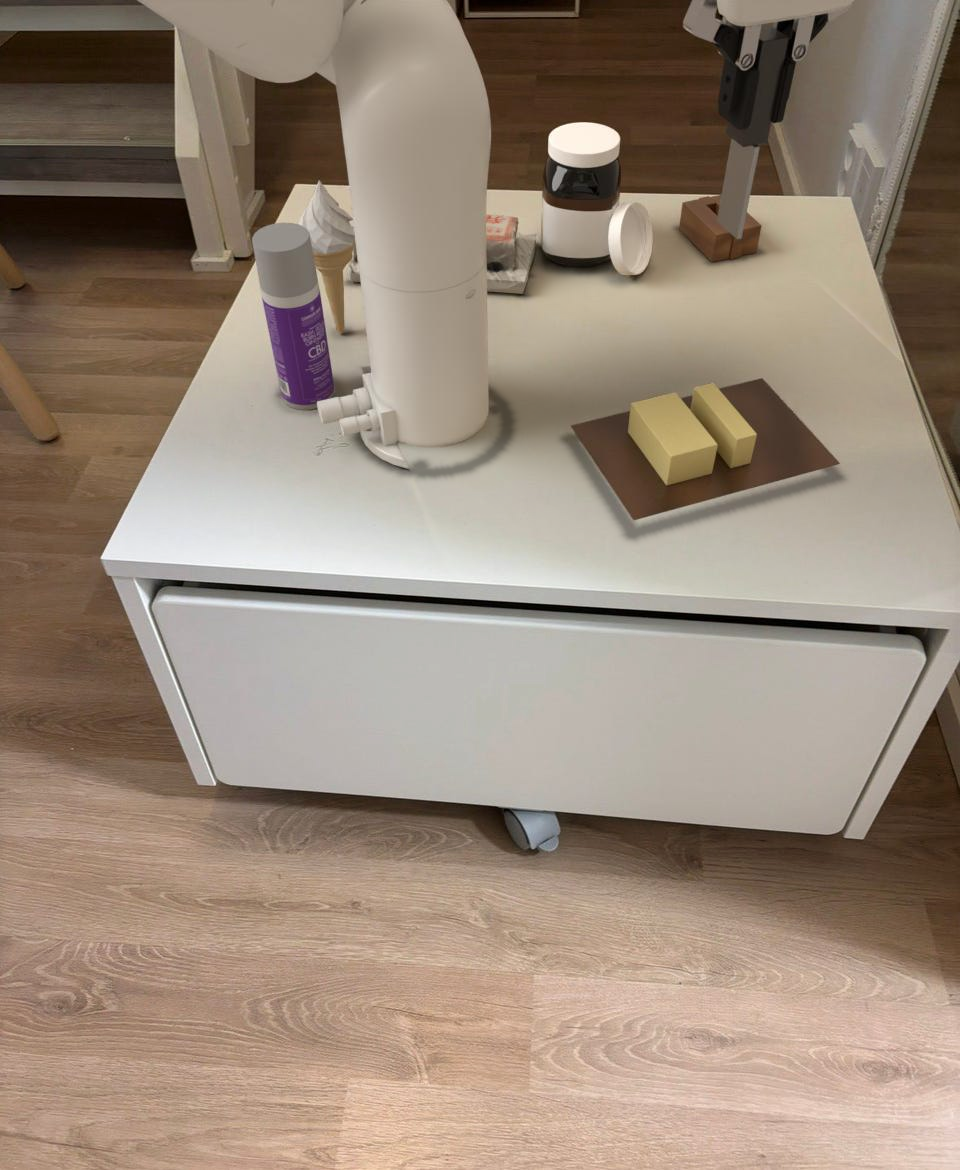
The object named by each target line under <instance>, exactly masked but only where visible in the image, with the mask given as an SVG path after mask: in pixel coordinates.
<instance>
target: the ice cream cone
mask: <svg viewBox="0 0 960 1170" xmlns="http://www.w3.org/2000/svg"><path fill="white" fill-rule="evenodd" d="M351 221H353V216H352V215H350V214H349V213H348V212H347V211H346V210H345V209H343V208H341V207H340V204H339V202H337V200H336V199H335V198H334V197H333V196H332V195H331V194H330V193H329V192H328V190H327V189H326V187H325V186H324V184H323V183H322V181H321V180H320V179H319V180H318V182H317V184H316V187H315V190H314V192H313V194H312V197H311V199H310V200H309V202H308V203H307V206H306V208H305V210H304V211H303V213H302V215H301V217H300V218H299V220H298V222H297V223H296V224H299V225H301V226H303V227H305V228H306V229H307V230H308V231H309V234H310V239H311V245H312V250H313V256H314V261H315V267H316V270H317V271H318V272H319V273H320V275H321V279H322V282H323V285H324V290H325V293H326V297H327V300H328V304H329V307H330V312H331V314H332V317H333V321H334V325H335V329H336V331H337V334H339V335H343V334H344V332H345V329H346V326H345V325H346V324H345V285H344V269H345V267H346V266H347V265H348V264H350V263H351V260H352V258H353V247H354V245H355V244H356V242H355V233H354V226H352V224H351V223H350V222H351Z"/></svg>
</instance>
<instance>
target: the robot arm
mask: <svg viewBox="0 0 960 1170" xmlns="http://www.w3.org/2000/svg"><path fill="white" fill-rule="evenodd" d="M136 1H138V2H139V4H142V5H143V6H145V7H146V8H148V9H150V10H151V11H152V12H154V13H155V14H156V15H158V16H159V17H161V18H163V20H166V21H167V22H168V23H170V24H171V25H173V26H174V27H176V28H177V29H178V30H180V31H182V32H183V33H185V34H186V35H187V36H188V37H189V36H190V37H191V38H192V39H194V40H195V41H197V42H198V43H199V44H201V45H203V46H204V47H206V48H207V49H208V50H210V51H211V52H213V53H214V54H215V55H217V56H219V57H220V58H221V59H223V60H224V61H225V62H227V63H228V64H230V65H231V66H233V67H234V68H235V69H237V70H239V71H241V72H243V73H245V74H246V75H249V76H251V77H253V78H255V79H258V80H261V81H265V82H270V83H276V84H289V83H295V82H299V81H302V80H305V79H307V78H309V77H310V76H312V75H314V74H315V73H317V74H318V75H320V76H322V77H323V78H325V79H326V80H327V81H329V82H331V84H333V85H335V89H336V94H337V102H338V109H339V117H340V124H341V133H342V134H341V135H342V142H343V148H344V156H345V163H346V170H347V178H348V179H347V180H348V187H349V195H350V205H351V216H352V218H353V220H352V224H353V227H354V233H355V242H356V250H357V259H358V265H359V272H360V280H361V282H360V289H361V297H362V298H361V299H362V306H363V313H364V315H363V316H364V321H365V331H366V340H367V348H368V349H367V350H368V356H369V357H368V358H369V365H370V372H367V373H363V374H362V383H363V384H362V385H363V386H362V387H358V388H354V389H352V394H347V395H344V396H340V397H339V396H333V398H330V399H326V400H321V401H317V408H316V409H317V412H318V417H319V419H320V422H321V424H322V425H326V424H331V423H335V422H338V423H339V426H340V431H341V434H342V436H343V437H346V436H350V435H354V434H360V438H361V439H362V441H363V443H364V445H365V446H366V447H367V448H368V449H369V451H370V452H371V453H372V454H373V455H375V456H376V457H378V458H379V459H381V460H383V461H385V462H387V463H389V464H391V465H394V466H397V467H400V468H403V469H408V470H410V466H409V465H408V462H407V460H406V459H405V456H404V454H403V452H402V449H401V448H400V445H399V444H398V442H400V443H402V444H406V445H408V446H409V445H410V446H412V447H413V446H414V447H420V448H441V447H445V446H451V445H455V444H458V443H461V442H463V441H465V440H467V439H469V438H471V437H473V436H474V435H475V434H477V432H479V431H480V430H481V429H482V428H483V427H484V425H485V424H486V422H487V419H488V418H489V414H490V407H489V406H490V405H489V403H490V401H489V339H488V338H489V335H488V334H489V332H488V331H489V330H488V329H489V328H488V324H489V323H488V291H487V254H486V214H487V199H488V198H487V196H488V193H487V192H488V180H489V168H490V157H491V147H492V123H491V122H492V121H491V109H490V104H489V97H488V94H487V93H488V92H487V89H486V85H485V82H484V78H483V75H482V73H481V72H482V71H481V69H480V67H479V64H478V61H477V58H476V57H475V54H474V51H473V49H472V47H471V45H470V44H469V41H468V39H467V37H466V35H465V32H464V30H463V27H462V25H461V22H460V20H459V18H458V16H457V15H456V13H455V11H454V9H453V8H452V6H451V4H450V3H449V1H448V0H136ZM854 3H855V0H691V2H690V5H689V6H688V9H687V11H686V13H685V15H684V18H683V21H682V27H683V29H684V30H686V31H687V32H689V33H690V34H691V35H693V36H694V37H697V38H699V39H702V40H704V41H707V42H709V43H712V44H713V46H714V47H715V48H716V50H717V52H718V54H719V56H721V57H722V58H723V67H722V73H721V79H720V85H719V91H718V97H717V107H718V109H717V112H718V115H719V116H720V117H721V118H723V119H724V120H725V121H727V123H728V122H729V123H730V124H732V125H733V126H734V127H736V128H737V129H738V130H742V129H747V128H748V126H750V123H751V118H752V113H753V107H754V102H755V97H756V92H757V86H758V81H759V76H760V72H759V70H758V69H757V68H755V67H754V66H753V64H754V62H755V58H756V52H757V47H758V42H759V36H760V31H761V26H763V25H768V24H772V25H771V26H772V27H773V28H775V29H776V30H778V31H780V32H781V33H783V34H784V35H786V36H788V37H789V39H788V44H787V49H786V54H785V59H784V64H783V65H782V70H781V75H780V80H779V85H778V89H777V94H776V99H775V104H774V109H773V114H772V119H771V124H777V123H782V122H783V120H784V118H785V112H786V108H787V104H788V100H789V97H790V94H791V89H792V84H793V81H794V80H793V79H794V74H795V70H796V65H797V62H801V61H802V60H803V59H804V58H805V57H806V56H807V54H808V51H809V48H810V47H809V46H810V44H811V42H812V41H813V40H814V39H815V38H816V37H817V36H818V34H819V33H820V32H821V31H822V30H823V29H824V28H825V26H826V25H827V23H831V22H832V21H834V20H836V19H837V18H838V17H840V16H842V15H843V14H845V13H847V12H848V11H849V10H851V8H852V7H853V5H854ZM717 10H718V13H719V14H720V15H721V16H722V20H721V19H720V18H716V13H717Z"/></svg>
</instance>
